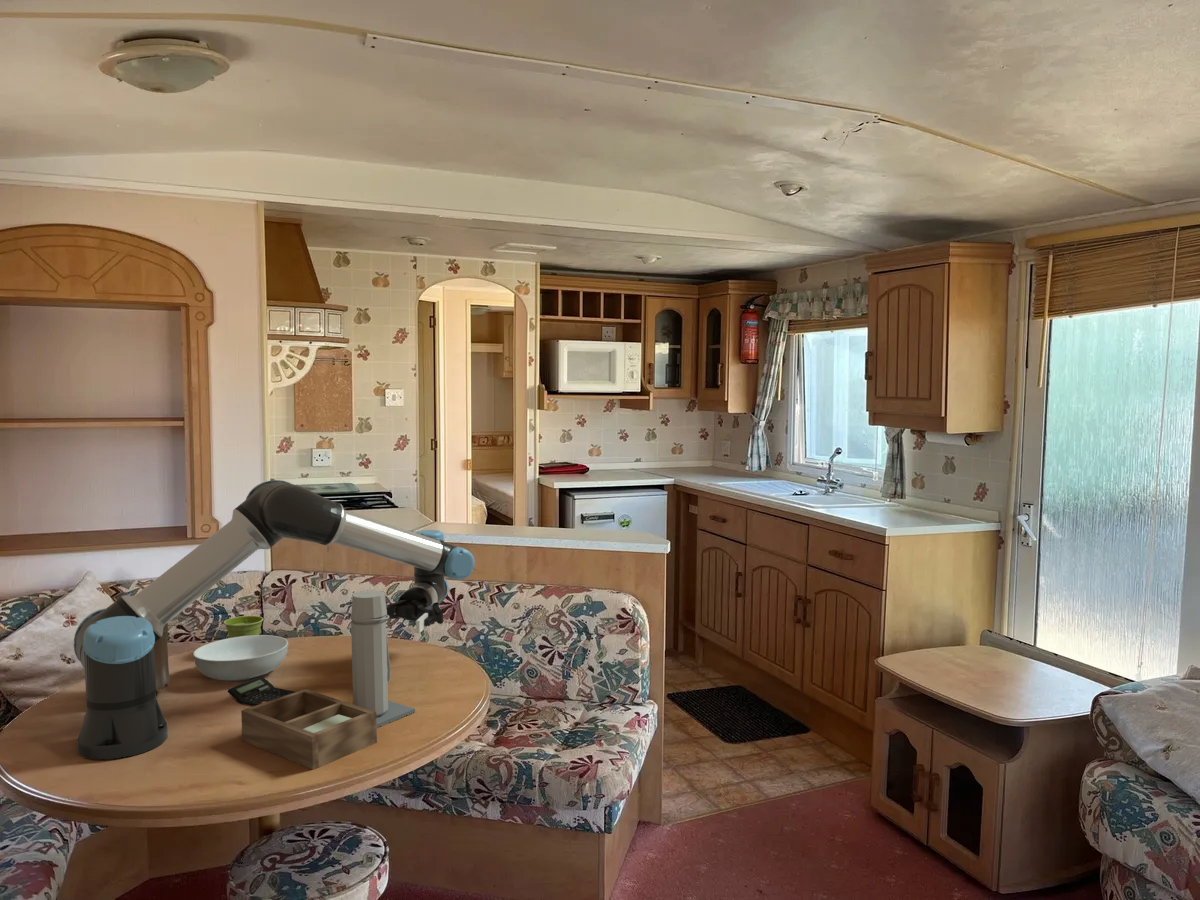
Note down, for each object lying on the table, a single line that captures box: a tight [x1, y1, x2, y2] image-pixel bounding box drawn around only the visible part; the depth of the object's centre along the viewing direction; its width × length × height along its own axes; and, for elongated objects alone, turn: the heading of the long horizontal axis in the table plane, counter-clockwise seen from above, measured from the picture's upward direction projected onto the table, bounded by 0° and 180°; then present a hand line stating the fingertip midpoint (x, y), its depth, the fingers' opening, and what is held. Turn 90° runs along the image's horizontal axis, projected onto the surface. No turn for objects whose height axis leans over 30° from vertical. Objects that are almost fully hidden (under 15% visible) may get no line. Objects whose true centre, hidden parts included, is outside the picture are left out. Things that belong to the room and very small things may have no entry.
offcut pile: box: [304, 714, 352, 733], centre depth 159 cm, size 10×5×5 cm, turn 148°
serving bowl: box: [192, 634, 289, 682], centre depth 203 cm, size 21×21×7 cm
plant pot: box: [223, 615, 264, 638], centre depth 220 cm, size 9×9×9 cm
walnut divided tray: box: [240, 688, 378, 771], centre depth 164 cm, size 14×22×6 cm, turn 55°
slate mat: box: [376, 699, 416, 729], centre depth 177 cm, size 12×12×1 cm
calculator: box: [227, 675, 297, 707], centre depth 188 cm, size 9×12×3 cm
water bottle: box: [349, 589, 392, 717], centre depth 176 cm, size 9×8×25 cm
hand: (387, 626), depth 185 cm, fingers open, 13 cm apart
